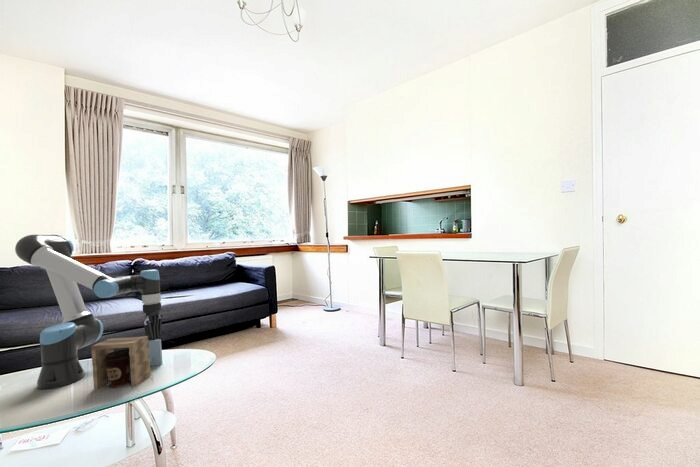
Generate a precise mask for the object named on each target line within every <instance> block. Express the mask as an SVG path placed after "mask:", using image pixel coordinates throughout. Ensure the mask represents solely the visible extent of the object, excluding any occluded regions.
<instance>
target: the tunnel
mask: <svg viewBox="0 0 700 467" xmlns="http://www.w3.org/2000/svg"><path fill="white" fill-rule="evenodd" d="M90 346H91V361H92V363H91V364H92V376H93V378H92V379H93V390H100V389H101V388H103V387H104V386H105V385H108V384H109V383H110V381H109V379H108V374H107V370H106V363H105V362H104V359H105V358H106V355H107V354H108V353H111V352H115V349H121V348H122V349H124V348H128V353H129V354H130V369H131V381H130V382H131V387H137V386H138V385H140V384H142V383H143V382H145V380H147V379H149V378H150V377H151V376H152V374H151V366H150V357H149V342H148V336H146V335H140V336H128V337H126V336H125V337H114V338H108V339H106V340H103V341H100V342H98V343H96V344H94V345H90Z"/></svg>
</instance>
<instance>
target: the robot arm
mask: <svg viewBox="0 0 700 467" xmlns="http://www.w3.org/2000/svg"><path fill="white" fill-rule="evenodd" d="M74 250H75V249H74V244H73V243H72V241H71V240H70V238H68V237H66V236H64V235H58V234H29V235H26V236H23V237H21V238H20V239H19V240H18V241H17V242H16V244H15V248H14V252H15V254H16V256H17V257H18V258H19V259H20V260H22V261H23V262H25V263H27V264H29V265H32V266H33V267H39V268H41V269H43V270H45V271H46V274H47V276H48V278H49V281H50V284H51V287H52V290H53V292H54V295H55V297H56V300H57V304H58V305H59V308H60V311H61V314H62V316H63V320H62V321H61V323H58V324H54V325H51V326H48V327H46V328H44V329H43V330H41V332H40V334H39V344H40V345H39V346H40V358H41V360H40V361H41V369H40V372H39V375H38V378H37V381H36V386H37V387H36V388H37V389H39V390H48V389H55V388H60V387H63V386H67V385H69V384H73V383H75V382H78V381H79V380H81V379H83V378H84V377H85V371H84V370H85V369H83V367H82V365H81V362H80V361H79V357H78V350H80V349H83V348H84V347H88V346H92V344H94V343H96V342H97V341H98V340H99V339H100V338H101V337H102V335H103V333H104V325H103V323H102V321H101V320H100V319H98V318H96V317H94V313H93V312H90V311H88V310H87V307H86V305H85V303H84V299H83V296H82V294H81V291H80V289H79V286H78V284H80V285H81V286H84V287H86V288H87V289H91V290H92V291H93V293H94V294H95V295H96V296H97V297H98V298H101V299H104V298H106V299H107V298H112V297H115V296H119V295H122V294H123V295H124V294H127V293H131V292H132V293H133V292H141V303H142V312H143V313H144V314H145V316H144V317H145V320H142V321H141V324H142V325H143V328H144V333H145V336H148V341H149V340H161V335H162V325H163V324H162V321H163V314H160V311H162V302H161V301H162V295H161V284H160V283H161V280H160V279H161V278H160V272H159V270H158V269H147V270H146V269H144V270H141V271H140V273H139V274H137V275H136V274H135V275H121V276H116V277H111V276H109V275H107V274H105V273H102V272H101V271H99V270H96V269H94V268H91V267H90V266H87V265H86V264H83V263H81V262H79V261H77V260H74V259H73V258H72V255H73V252H74Z"/></svg>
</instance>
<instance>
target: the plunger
mask: <svg viewBox="0 0 700 467" xmlns="http://www.w3.org/2000/svg"><path fill="white" fill-rule="evenodd" d="M148 342H149V357H150V367H151V366H162V365H163V351H162V350H163V349H162V339H158V340H149V341H148ZM129 364H130V359H129ZM129 382H131V369H130V370H129Z"/></svg>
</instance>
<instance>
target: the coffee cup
mask: <svg viewBox="0 0 700 467" xmlns="http://www.w3.org/2000/svg"><path fill="white" fill-rule="evenodd" d="M129 359H130V354H129V349H128V350H127V349H121V350H114V352H111V353H108V354H107V355H106V358H105V359H104V362H105V363H106V370H107V374H108V379H109V381H110V382H109V383H110V384H109V388H111V389H116V388H117V389H118V388H121V387H126V386H127V385H129V384H130V382H131V381H129V370H130V364H129Z"/></svg>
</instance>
